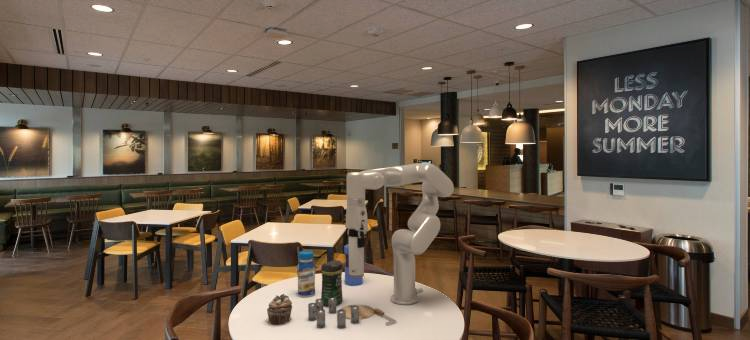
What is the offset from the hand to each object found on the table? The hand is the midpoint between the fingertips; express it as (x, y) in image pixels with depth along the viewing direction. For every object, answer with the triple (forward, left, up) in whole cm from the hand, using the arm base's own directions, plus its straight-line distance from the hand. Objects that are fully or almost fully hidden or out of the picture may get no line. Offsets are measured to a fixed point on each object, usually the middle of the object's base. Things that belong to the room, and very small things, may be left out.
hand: (356, 245), depth 164 cm
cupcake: (+29, -11, -28) cm, 42 cm away
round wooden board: (0, 0, -28) cm, 28 cm away
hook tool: (-4, +12, -28) cm, 30 cm away
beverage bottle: (+7, -32, -28) cm, 43 cm away
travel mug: (0, 0, -13) cm, 13 cm away
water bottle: (-20, -33, -28) cm, 48 cm away
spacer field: (+12, +1, -28) cm, 30 cm away
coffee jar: (+3, -15, -28) cm, 32 cm away
